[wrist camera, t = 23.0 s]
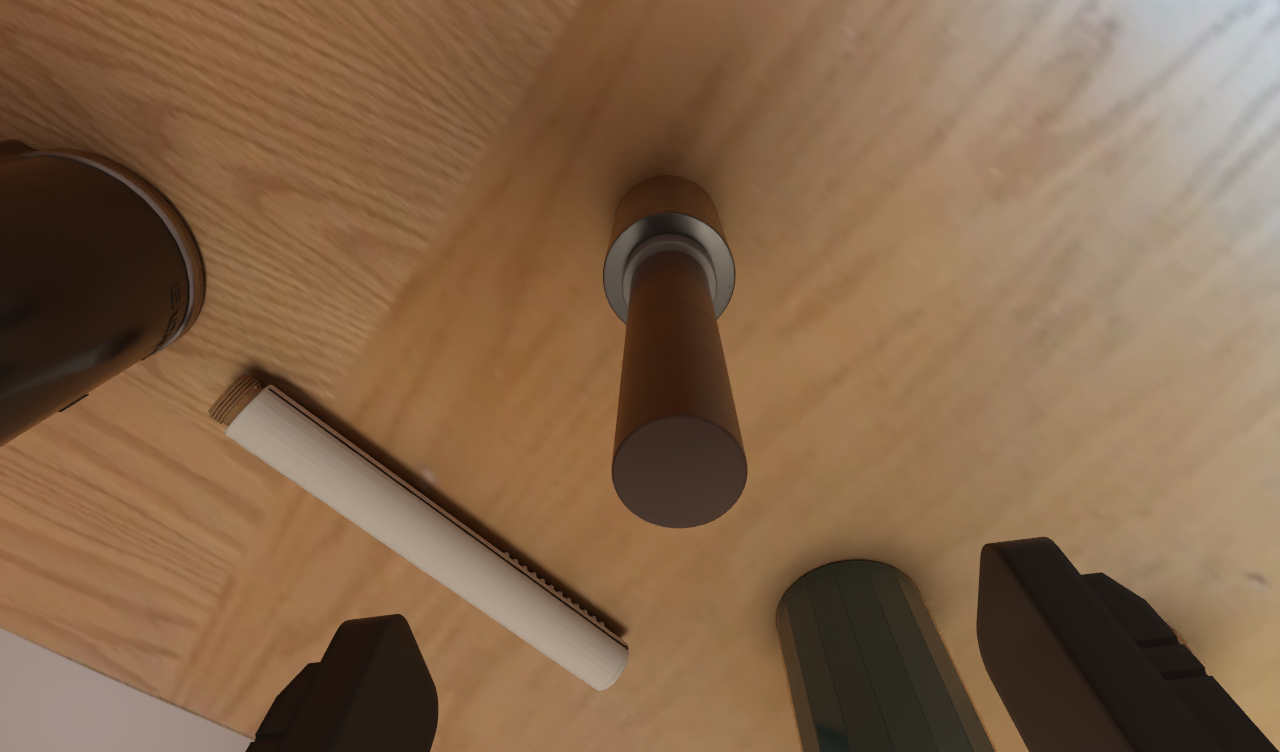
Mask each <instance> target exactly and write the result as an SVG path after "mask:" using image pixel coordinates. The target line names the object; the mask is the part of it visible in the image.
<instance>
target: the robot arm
mask: <svg viewBox="0 0 1280 752" xmlns="http://www.w3.org/2000/svg"><path fill="white" fill-rule="evenodd" d="M203 291H204V280H203V271H202V266H201V261H200V258H199V255H198V252H197V249H196V247H195V244H194V242H193V240H192V238H191V236H190V234H189V232H188V230H187V228H186V227H185V225H184V224H183V222H182V221H181V219H180V218H179V216H178V215H177V214H176V212H175V211H174V210H173V209H172V207H171V206H170V205H169V204H168V203H167V202H166V201H165V200H164V199H163V198H162V196H161V195H160V194H159V193H157V192H156V191H155V190H154V189H153V188H152V187H151V186H150V185H148V184H147V183H146V182H144V181H143V180H142V179H140V178H139V177H138V176H136V175H135V174H133V173H132V172H130V171H128V170H127V169H125V168H123V167H121V166H119V165H118V164H115V163H113V162H111V161H109V160H107V159H104V158H101V157H98V156H96V155H92V154H89V153H85V152H80V151H74V150H64V149H50V150H43V151H34V150H32V149H29V148H27V147H26V146H24V145H22V144H21V143H19V142H17V141H15V140H7V141H0V447H1V446H3V445H5V444H6V443H8V442H9V441H11V440H13V439H14V438H16V437H17V436H19V435H21V434H22V433H24V432H26V431H27V430H29V429H30V428H32V427H34V426H35V425H37V424H38V423H40V422H42V421H43V420H45V419H46V418H48V417H50V416H51V415H53V414H55V413H56V412H62V411H64V410H65V409H67V408H68V407H70V406H72V405H73V404H75V403H76V402H78V401H80V400H81V399H83V398H84V397H86V396H88V395H89V394H87V393H88V392H90V391H92V390H93V389H95V388H96V387H98V386H100V385H101V384H103V383H104V382H106V381H108V380H109V379H111V378H112V377H114V376H116V375H118V374H119V373H121V372H123V371H124V370H126V369H127V368H129V367H131V366H132V365H134V364H135V363H137V362H139V361H140V360H141V361H142V360H144V359H146V358H147V357H149V356H150V355H152V354H155V353H157V352H159V351H160V350H162V349H164V348H165V347H167V346H169V345H170V344H172V343H173V342H175V341H176V340H178V339H179V338H180V337H182V336H183V335H184V334H185V333H186V332H187V331H188V330H189V328H190V327H191V326H192V324H193V323H194V321H195V319H196V317H197V316H198V313H199V310H200V308H201V304H202V299H203ZM977 638H978V644H979V649H980V653H981V656H982V659H983V662H984V665H985V668H986V670H987V673H988V675H989V677H990V679H991V681H992V683H993V684H994V686H995V688H996V690H997V692H998V694H999V696H1000V698H1001V699H1002V701H1003V703H1004V705H1005V707H1006V709H1007V711H1008V713H1009V715H1010V716H1011V718H1012V720H1013V722H1014V724H1015V726H1016V728H1017V730H1018V731H1019V733H1020V735H1021V737H1022V739H1023V741H1024V743H1025V745H1026V746H1027V748H1028V750H1029V752H1279V751H1278V750H1277V749H1276V748H1275V747H1274V745H1273V744H1272V743H1271V742H1270V741H1269V740H1268V739H1267V738H1266V736H1265V735H1264V734H1263V733H1262V732H1261V731H1260V730H1259V728H1258V727H1257V726H1256V725H1255V724H1254V723H1253V722H1252V721H1251V719H1250V718H1249V717H1248V716H1247V715H1246V714H1245V713H1244V711H1243V710H1242V709H1241V708H1240V707H1239V706H1238V705H1237V704H1236V702H1235V701H1234V700H1233V699H1232V698H1231V697H1230V696H1229V694H1228V693H1227V692H1226V691H1225V690H1224V689H1223V688H1222V687H1221V685H1220V684H1219V683H1218V682H1217V681H1216V680H1215V679H1214V677H1213V676H1208V675H1207V674H1206V672H1205V667H1204V666H1203V665H1202V664H1201V663H1200V662H1199V660H1198V659H1197V658H1196V657H1195V656H1194V655H1193V654H1192V652H1191V651H1190V650H1189V649H1188V648H1187V647H1186V646H1185V645H1184V644H1180V643H1179V641H1178V637H1177V635H1176V634H1175V633H1174V632H1173V631H1172V630H1171V629H1170V628H1169V626H1168V625H1167V624H1166V623H1165V622H1164V621H1163V620H1162V618H1161V617H1160V616H1159V615H1158V614H1157V613H1156V612H1155V611H1154V609H1153V608H1152V607H1151V606H1150V605H1149V604H1148V603H1147V601H1146V600H1144V599H1143V598H1141V597H1139V596H1138V595H1136V594H1135V593H1133V592H1132V591H1130V590H1129V589H1127V588H1125V587H1124V586H1122V585H1121V584H1119V583H1118V582H1116V581H1115V580H1113V579H1111V578H1110V577H1108V576H1107V575H1105V574H1104V573H1102V572H1101V573H1093V574H1084V575H1080V573H1079V572H1078V571H1077V570H1076V568H1075V567H1074V566H1073V565H1072V563H1071V562H1070V561H1069V560H1068V558H1067V557H1066V556H1065V555H1064V553H1063V552H1062V551H1061V550H1060V548H1059V547H1058V546H1057V545H1056V544H1055V543H1054V542H1053V541H1052V540H1051V539H1049V538H1047V537H1038V538H1030V539H1021V540H1013V541H1005V542H997V543H989V544H985V545H984V546H983V548H982V551H981V557H980V574H979V592H978V609H977ZM437 722H438V697H437V692H436V688H435V685H434V682H433V680H432V678H431V675H430V673H429V671H428V668H427V666H426V664H425V661H424V659H423V657H422V654H421V652H420V650H419V647H418V645H417V643H416V640H415V638H414V636H413V633H412V631H411V629H410V626H409V624H408V622H407V620H406V619H405V618H404V617H403V616H402V615H400V614H393V615H385V616H377V617H369V618H360V619H352V620H347V621H345V622H344V623H342V624H341V625H340V627H339V628H338V630H337V631H336V633H335V635H334V637H333V639H332V641H331V643H330V644H329V646H328V648H327V650H326V652H325V654H324V656H323V658H322V660H321V662H317V663H308V664H307V666H306V667H305V668H304V669H303V670H302V671H301V672H300V673H299V674H298V675H297V676H296V677H295V678H294V679H293V680H292V681H291V682H290V683H289V684H288V685H287V686H286V687H285V689H284V690H283V691H282V692H281V693H280V694H279V695H278V696H277V697H276V699H275V700H274V702H273V704H272V706H271V708H270V709H269V711H268V713H267V715H266V716H265V718H264V720H263V722H262V723H261V725H260V727H259V729H258V731H257V732H256V734H255V735H256V739H255V742H251V743H250V745H249V747H248V748H247V750H246V752H430V750H431V747H432V743H433V740H434V737H435V733H436V729H437Z"/></svg>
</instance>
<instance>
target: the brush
mask: <svg viewBox="0 0 1280 752" xmlns="http://www.w3.org/2000/svg"><path fill="white" fill-rule="evenodd" d="M603 284H604V290H605V294H606V297H607V299H608V302H609V304H610V306H611V308H612V309H613V311H614V312H615V314H616V315H617V316H618V317H619V318H620V319H621V320H622V321H623V322H624V323H625V324H626V325H627V326H626V335H625V345H624V354H623V364H622V374H621V383H620V393H619V403H618V412H617V422H616V431H615V441H614V451H613V460H612V480H613V484H614V488H615V490H616V492H617V494H618V496H619V498H620V499H621V501H622V502H623V504H624V505H625V506H626V507H627V508H628V509H629V510H630V511H631V512H632V513H634V514H635V515H637V516H638V517H639V518H641V519H643V520H645V521H647V522H649V523H652V524H655V525H658V526H662V527H668V528H690V527H696V526H700V525H703V524H706V523H708V522H711V521H713V520H715V519H717V518H719V517H720V516H722V515H723V514H724V513H726V512H727V511H728V510H729V509H730V508H731V507H732V506H733V505H734V504H735V503H736V502H737V500H738V499H739V497H740V495H741V494H742V492H743V489H744V487H745V484H746V480H747V472H748V471H747V461H746V456H745V451H744V447H743V442H742V437H741V433H740V428H739V423H738V419H737V414H736V409H735V405H734V400H733V395H732V390H731V386H730V381H729V376H728V372H727V367H726V362H725V358H724V353H723V348H722V344H721V339H720V334H719V330H718V325H717V319H718V318H719V317H720V315H721V314H722V313H723V311H724V310H725V309H726V307H727V305H728V303H729V301H730V299H731V296H732V294H733V290H734V286H735V265H734V260H733V257H732V254H731V251H730V248H729V245H728V242H727V239H726V236H725V234H724V231H723V228H722V225H721V222H720V219H719V216H718V214H717V211H716V208H715V206H714V204H713V202H712V200H711V199H710V197H709V196H708V195H707V193H706V192H705V191H704V190H703V189H702V188H700V187H699V186H698V185H696V184H695V183H693V182H692V181H689V180H687V179H685V178H681V177H677V176H667V175H665V176H657V177H653V178H650V179H647V180H645V181H643V182H641V183H639V184H638V185H636V186H635V187H633V188H632V189H631V190H630V191H629V192H628V193H627V194H626V196H625V197H624V198H623V200H622V201H621V203H620V205H619V207H618V209H617V212H616V216H615V220H614V224H613V228H612V233H611V237H610V241H609V245H608V250H607V254H606V258H605V263H604V269H603Z"/></svg>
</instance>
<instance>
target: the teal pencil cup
mask: <svg viewBox="0 0 1280 752" xmlns="http://www.w3.org/2000/svg"><path fill="white" fill-rule="evenodd" d="M776 627H777V632H778V638H779V646H780V651H781V656H782V661H783V666H784V671H785V676H786V681H787V686H788V690H789V695H790V700H791V705H792V710H793V715H794V720H795V725H796V730H797V735H798V740H799V745H800V750H801V752H997V750H996V748H995V746H994V744H993V742H992V740H991V738H990V735H989V733H988V731H987V729H986V727H985V725H984V723H983V721H982V719H981V717H980V715H979V712H978V710H977V708H976V706H975V704H974V702H973V700H972V698H971V696H970V694H969V692H968V689H967V687H966V685H965V683H964V681H963V679H962V677H961V675H960V673H959V671H958V669H957V666H956V664H955V662H954V660H953V658H952V656H951V654H950V652H949V650H948V648H947V646H946V643H945V641H944V639H943V637H942V635H941V633H940V631H939V629H938V627H937V625H936V623H935V620H934V618H933V616H932V614H931V612H930V610H929V608H928V606H927V605H926V603H925V601H924V600H923V597H922V595H921V593H920V591H919V589H918V588H917V586H916V585H915V583H914V582H913V581H912V580H911V579H910V578H909V577H908V576H906V575H905V574H904V573H902V572H901V571H899V570H897V569H895V568H893V567H891V566H888V565H886V564H882V563H878V562H873V561H864V560H852V561H842V562H836V563H833V564H829V565H826V566H823V567H820V568H818V569H816V570H814V571H812V572H810V573H808V574H806V575H805V576H803V577H802V578H800V579H799V580H798V581H797V582H796V583H794V584H793V585H792V586H791V587H790V589H789V590H788V591H787V592H786V594H785V595H784V596H783V598H782V600H781V602H780V604H779V607H778V610H777V615H776Z"/></svg>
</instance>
